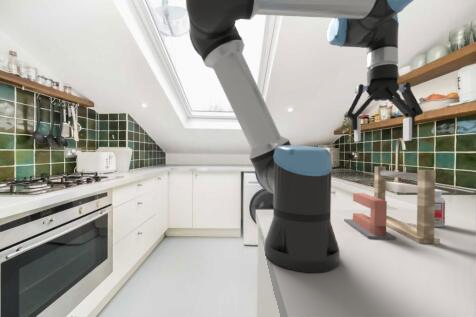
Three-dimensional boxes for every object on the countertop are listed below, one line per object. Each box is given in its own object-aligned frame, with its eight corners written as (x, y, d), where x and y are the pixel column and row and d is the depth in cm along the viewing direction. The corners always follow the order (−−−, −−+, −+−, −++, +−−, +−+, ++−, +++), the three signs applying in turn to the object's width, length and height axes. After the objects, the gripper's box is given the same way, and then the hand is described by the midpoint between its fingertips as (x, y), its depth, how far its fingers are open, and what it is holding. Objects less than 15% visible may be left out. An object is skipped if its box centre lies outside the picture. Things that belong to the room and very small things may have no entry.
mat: (368, 238, 57) (368, 236, 57) (344, 220, 73) (344, 219, 73) (396, 239, 57) (396, 237, 57) (366, 221, 73) (366, 219, 73)
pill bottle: (428, 221, 74) (429, 188, 74) (450, 227, 68) (450, 191, 68) (414, 222, 73) (414, 188, 73) (434, 228, 67) (434, 191, 67)
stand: (418, 242, 55) (419, 170, 55) (370, 217, 78) (370, 166, 78) (439, 243, 54) (440, 170, 54) (384, 217, 78) (385, 166, 78)
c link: (386, 235, 58) (386, 201, 58) (374, 235, 58) (374, 200, 58) (362, 221, 71) (362, 193, 71) (352, 221, 71) (353, 193, 71)
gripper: (419, 70, 67) (419, 141, 67) (333, 74, 70) (333, 142, 70) (439, 59, 59) (439, 139, 59) (341, 65, 62) (341, 140, 62)
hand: (382, 141), depth 65 cm, fingers open, 13 cm apart
